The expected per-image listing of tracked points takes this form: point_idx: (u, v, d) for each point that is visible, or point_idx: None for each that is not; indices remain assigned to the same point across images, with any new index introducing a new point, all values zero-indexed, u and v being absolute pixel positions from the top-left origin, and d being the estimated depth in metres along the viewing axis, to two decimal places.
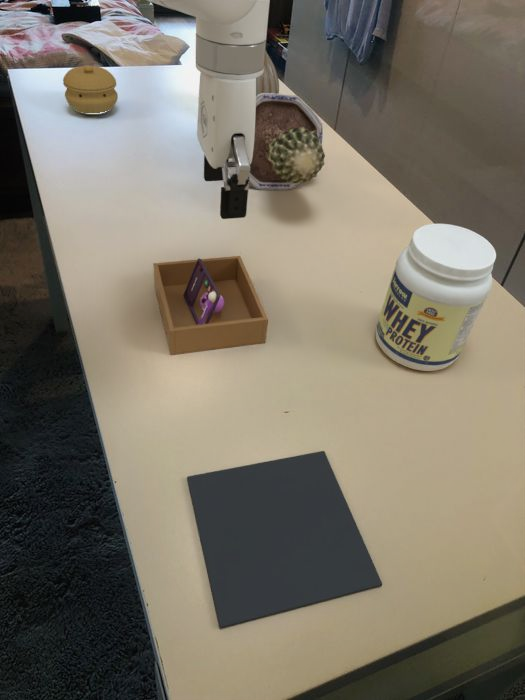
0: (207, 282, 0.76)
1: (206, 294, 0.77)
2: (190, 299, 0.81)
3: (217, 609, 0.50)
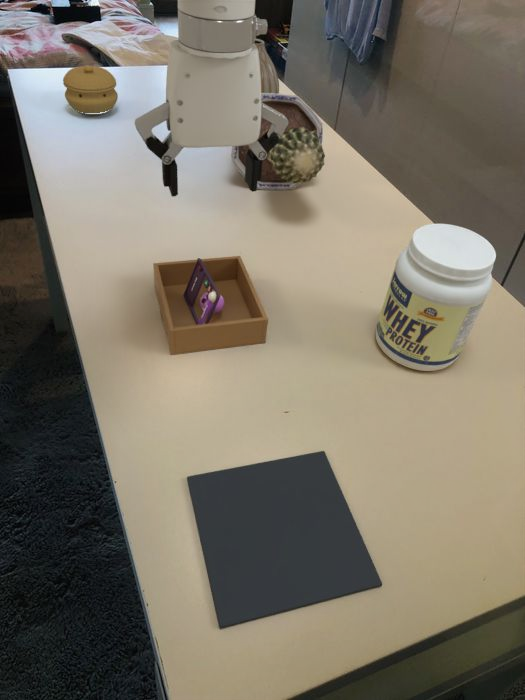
0: (207, 282, 0.76)
1: (206, 294, 0.77)
2: (190, 299, 0.81)
3: (217, 609, 0.50)
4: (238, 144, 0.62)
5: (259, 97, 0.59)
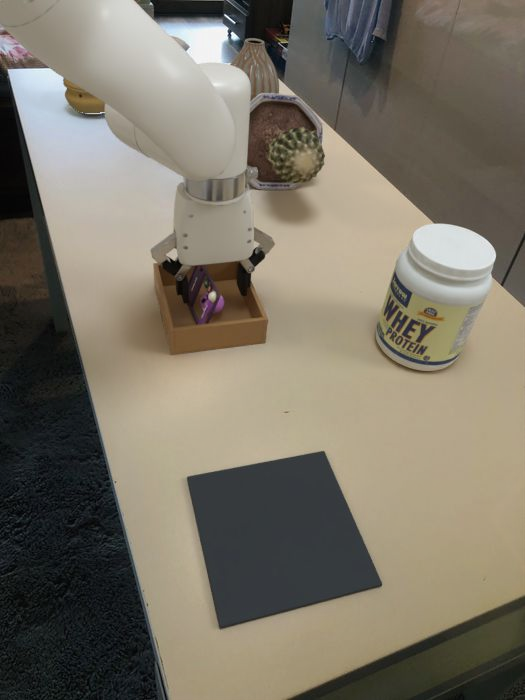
0: (207, 282, 0.76)
1: (206, 294, 0.77)
2: (190, 299, 0.81)
3: (217, 609, 0.50)
4: (235, 260, 0.73)
5: (252, 226, 0.70)
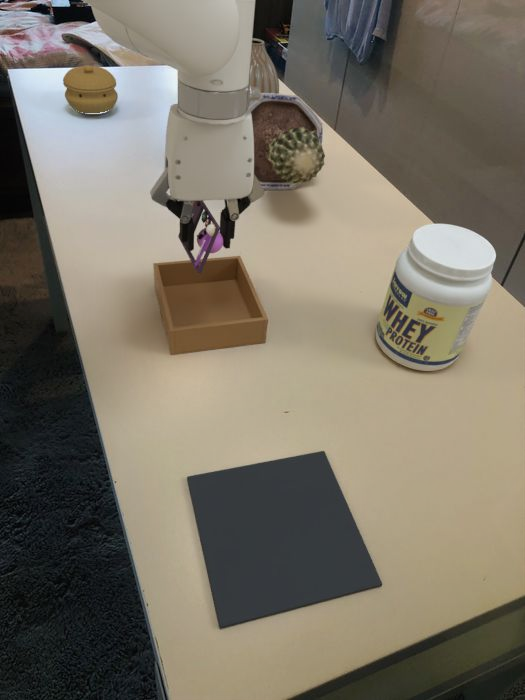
0: (205, 216, 0.68)
1: (204, 230, 0.69)
2: None
3: (217, 609, 0.50)
4: (232, 198, 0.66)
5: (252, 156, 0.64)
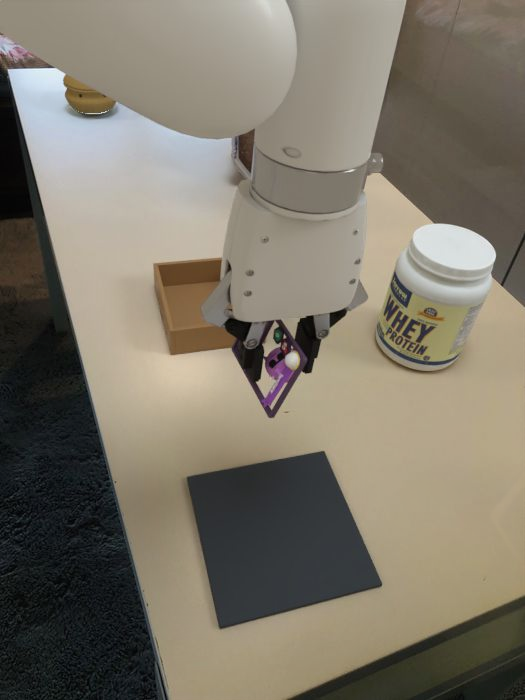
0: (280, 335, 0.46)
1: (276, 353, 0.47)
2: None
3: (217, 609, 0.50)
4: (324, 312, 0.44)
5: (361, 256, 0.41)
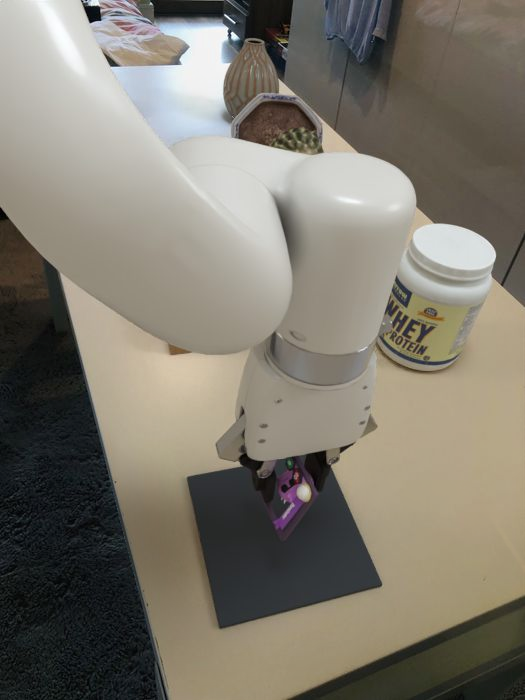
0: (292, 463, 0.47)
1: (288, 478, 0.48)
2: None
3: (217, 609, 0.50)
4: (334, 447, 0.45)
5: (371, 403, 0.42)
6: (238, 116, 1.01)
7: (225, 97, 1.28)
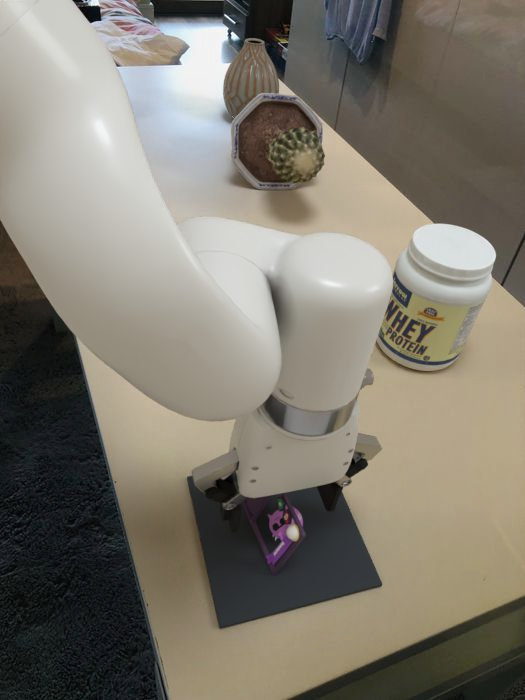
0: (282, 504, 0.52)
1: (279, 517, 0.53)
2: (251, 509, 0.57)
3: (217, 609, 0.50)
4: (320, 484, 0.49)
5: (354, 446, 0.46)
6: (238, 116, 1.01)
7: (225, 97, 1.28)
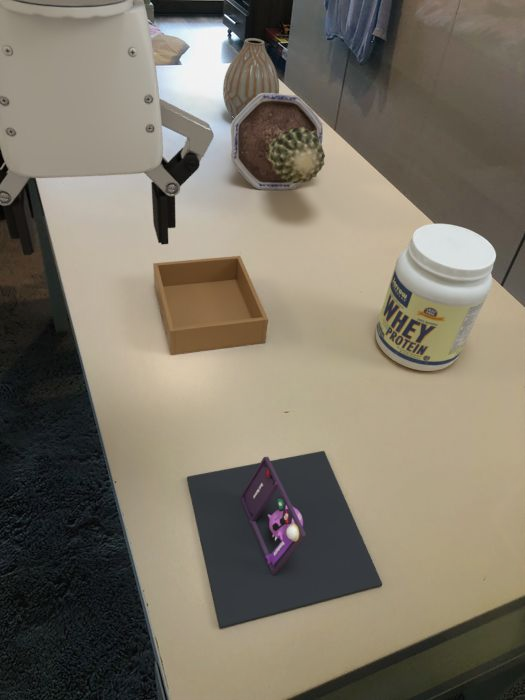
0: (282, 504, 0.52)
1: (279, 517, 0.53)
2: (251, 509, 0.57)
3: (217, 609, 0.50)
4: (126, 172, 0.37)
5: (153, 92, 0.34)
6: (238, 116, 1.01)
7: (225, 97, 1.28)
